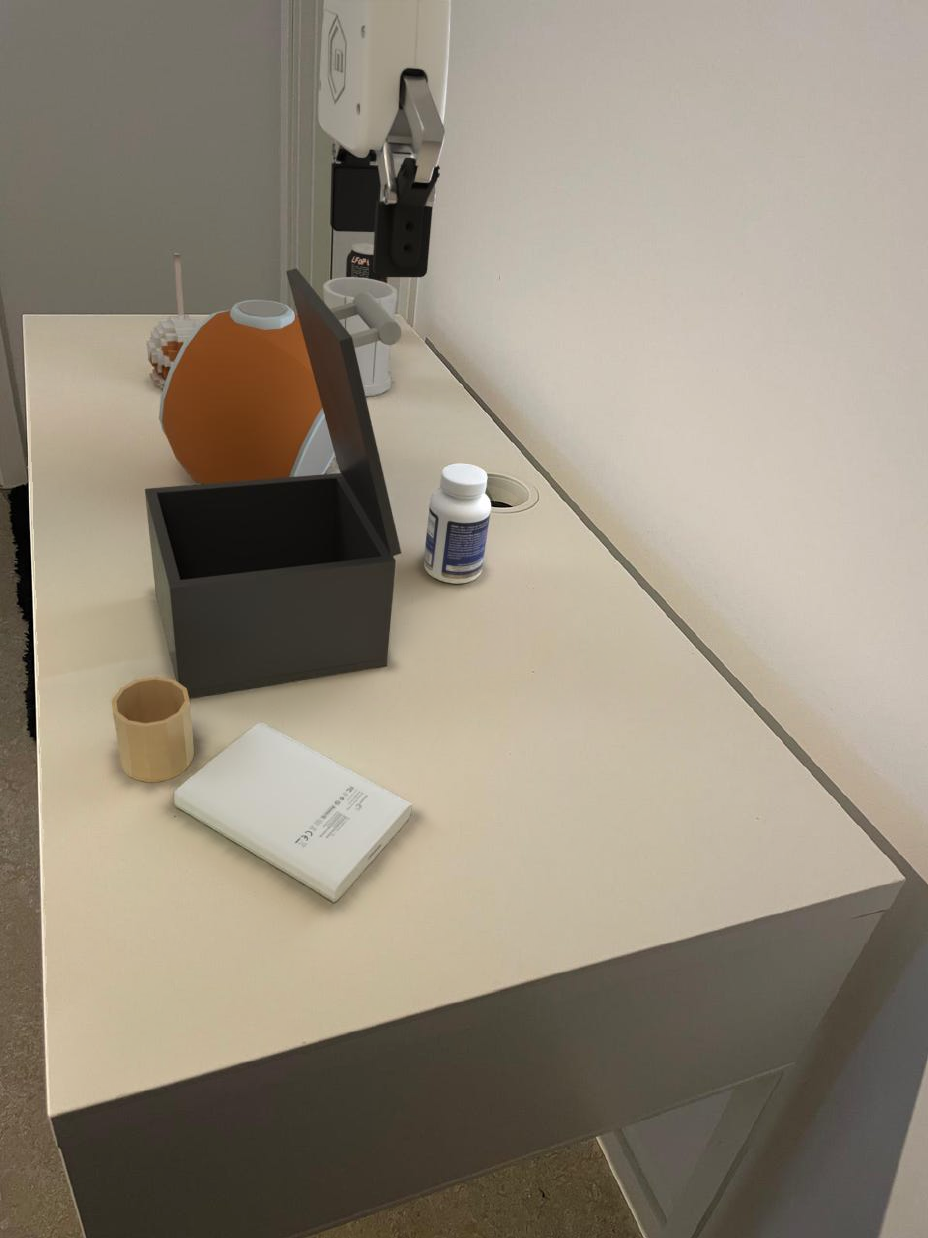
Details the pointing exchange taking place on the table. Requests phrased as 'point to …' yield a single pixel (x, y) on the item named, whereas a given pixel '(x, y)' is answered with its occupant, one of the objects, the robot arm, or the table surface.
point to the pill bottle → (458, 525)
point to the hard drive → (294, 809)
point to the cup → (365, 327)
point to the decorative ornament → (169, 335)
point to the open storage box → (268, 581)
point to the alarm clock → (246, 399)
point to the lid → (349, 393)
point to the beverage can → (362, 262)
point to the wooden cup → (153, 728)
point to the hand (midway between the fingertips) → (375, 251)
